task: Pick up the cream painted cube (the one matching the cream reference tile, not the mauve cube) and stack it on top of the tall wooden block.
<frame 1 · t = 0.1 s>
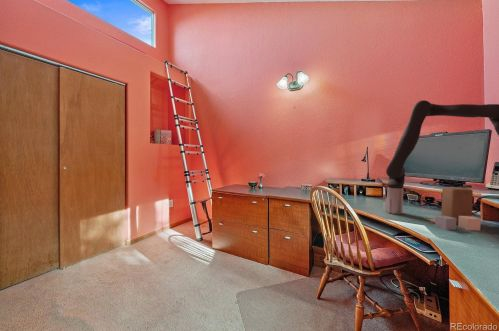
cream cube: (468, 228, 119), on the table
mauve cube: (445, 228, 120), on the table
reference tile: (436, 221, 131), on the table
wooden block: (455, 222, 130), on the table
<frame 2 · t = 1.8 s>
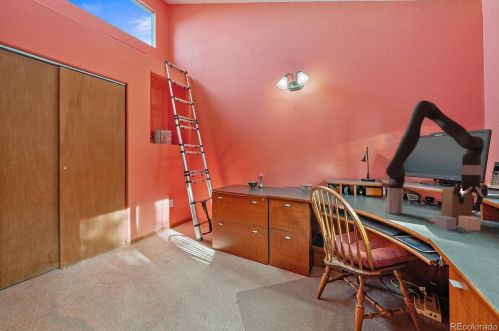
hand: (470, 203, 118), 13 cm above the table, tool pointing down, fingers open, 8 cm apart
nothing on the table moved.
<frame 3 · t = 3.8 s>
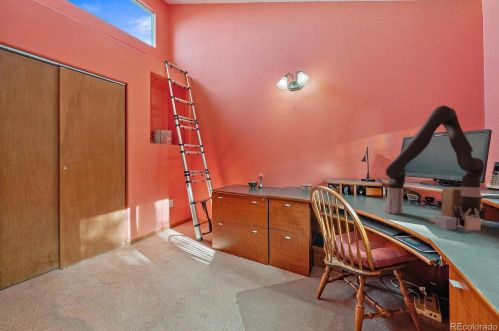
hand: (469, 226, 119), 1 cm above the table, tool pointing down, fingers closed on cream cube, 6 cm apart
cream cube: (468, 228, 119), on the table, touching gripper
everything else where it was.
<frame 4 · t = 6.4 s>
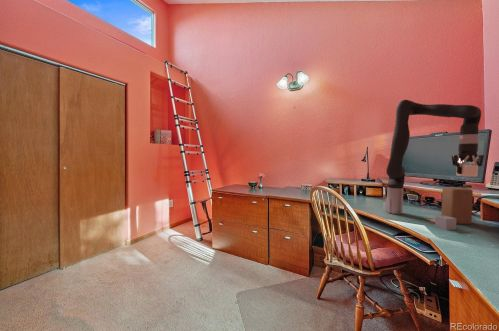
hand: (466, 173, 121), 29 cm above the table, tool pointing down, fingers closed on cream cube, 6 cm apart
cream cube: (466, 176, 121), point 28 cm above the table, touching gripper
everything else where it was.
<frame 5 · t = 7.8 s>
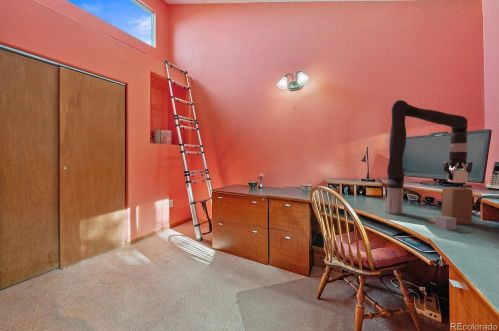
hand: (457, 179, 129), 25 cm above the table, tool pointing down, fingers closed on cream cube, 6 cm apart
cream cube: (457, 181, 129), point 24 cm above the table, touching gripper
everything else where it was.
when the fingers open (23 cm above the table, at t = 9.1 s): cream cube drops 2 cm, resting on wooden block.
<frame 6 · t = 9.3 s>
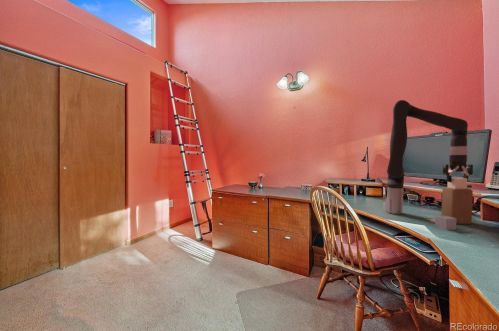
hand: (457, 182, 129), 24 cm above the table, tool pointing down, fingers open, 8 cm apart
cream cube: (456, 188, 130), point 20 cm above the table, touching wooden block
wooden block: (455, 222, 130), on the table, touching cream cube
everything else where it was.
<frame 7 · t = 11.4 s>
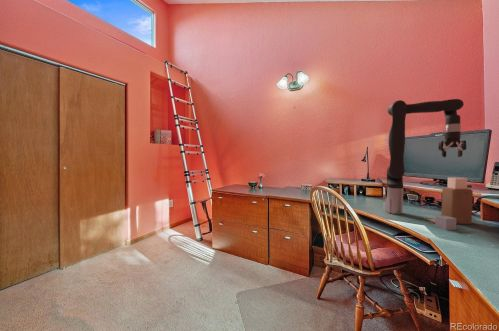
hand: (451, 156, 142), 38 cm above the table, tool pointing down, fingers open, 8 cm apart
nothing on the table moved.
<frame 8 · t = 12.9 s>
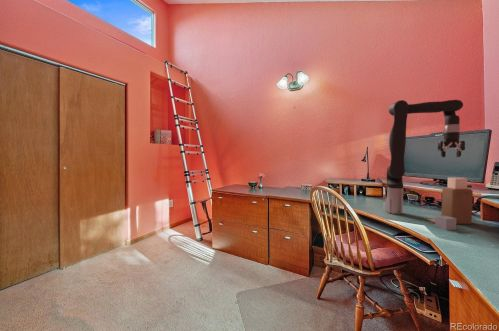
hand: (450, 157, 144), 38 cm above the table, tool pointing down, fingers open, 8 cm apart
nothing on the table moved.
at the end: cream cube inside the target area on the wooden block (0.0 cm from its centre), point 20.2 cm above the wooden block's base; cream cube tilted 0°; the gripper is holding nothing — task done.
